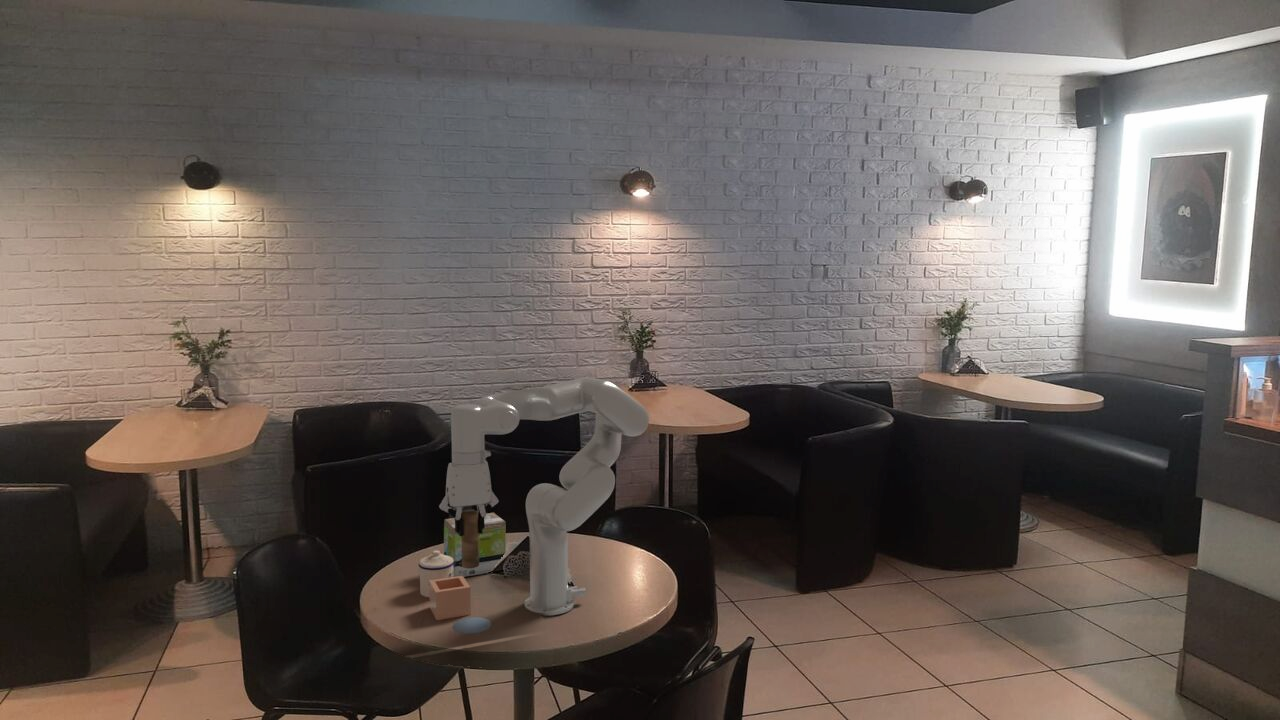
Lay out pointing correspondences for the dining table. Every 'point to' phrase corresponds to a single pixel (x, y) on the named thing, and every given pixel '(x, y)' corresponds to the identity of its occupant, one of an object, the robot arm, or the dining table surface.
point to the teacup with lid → (434, 570)
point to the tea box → (488, 545)
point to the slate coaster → (472, 625)
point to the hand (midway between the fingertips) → (469, 532)
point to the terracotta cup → (449, 597)
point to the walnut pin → (470, 539)
